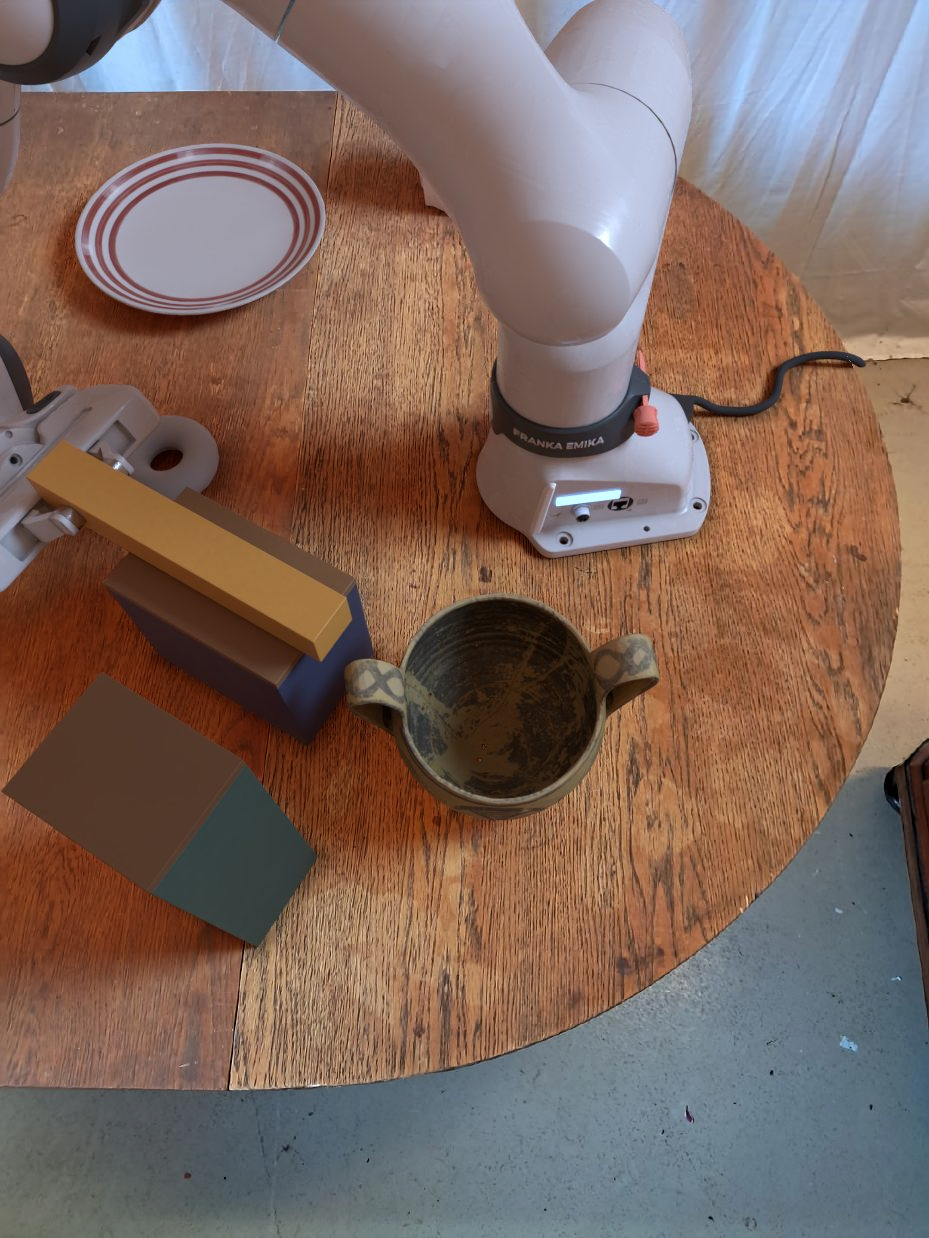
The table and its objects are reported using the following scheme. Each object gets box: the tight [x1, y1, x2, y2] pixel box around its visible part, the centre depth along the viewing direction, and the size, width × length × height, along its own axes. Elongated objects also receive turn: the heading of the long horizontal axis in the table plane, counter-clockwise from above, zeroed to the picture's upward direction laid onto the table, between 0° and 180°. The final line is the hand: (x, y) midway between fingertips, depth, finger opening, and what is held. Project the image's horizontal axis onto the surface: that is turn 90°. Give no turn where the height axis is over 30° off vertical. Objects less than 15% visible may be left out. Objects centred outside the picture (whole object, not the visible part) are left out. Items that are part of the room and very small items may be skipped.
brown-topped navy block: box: [102, 487, 375, 747], centre depth 73 cm, size 16×10×14 cm, turn 59°
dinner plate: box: [74, 142, 326, 316], centre depth 100 cm, size 28×27×3 cm
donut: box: [126, 414, 220, 501], centre depth 86 cm, size 10×4×10 cm
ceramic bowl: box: [344, 592, 661, 822], centre depth 69 cm, size 22×17×15 cm
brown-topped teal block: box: [0, 671, 319, 948], centre depth 59 cm, size 10×8×26 cm
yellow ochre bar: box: [26, 440, 352, 662], centre depth 65 cm, size 26×4×4 cm, turn 59°
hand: (99, 494), depth 67 cm, fingers closed on yellow ochre bar, 4 cm apart
